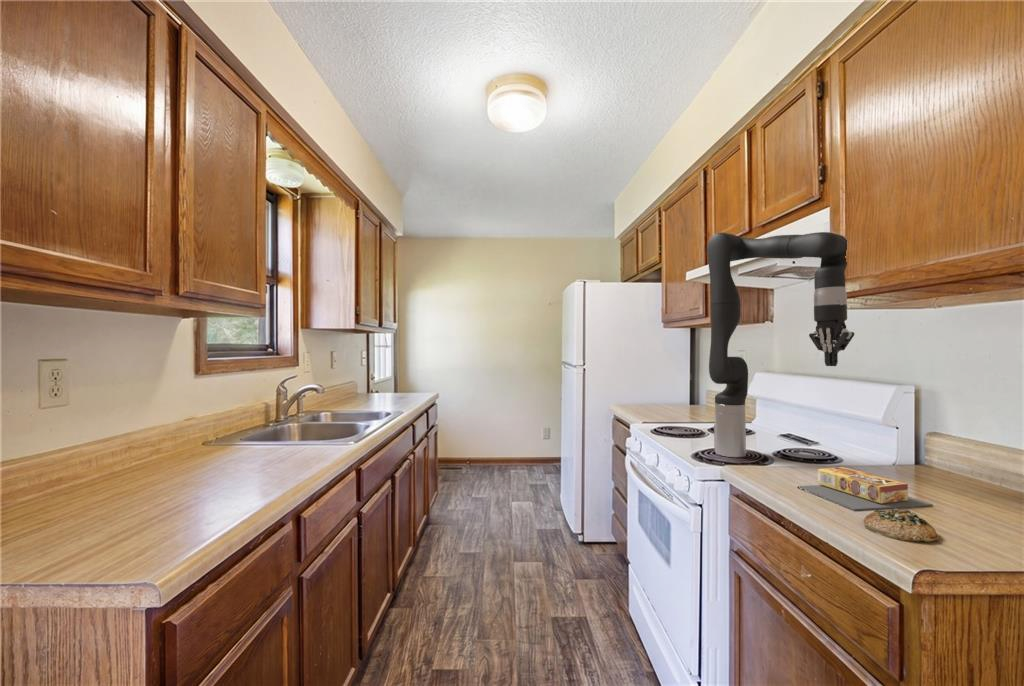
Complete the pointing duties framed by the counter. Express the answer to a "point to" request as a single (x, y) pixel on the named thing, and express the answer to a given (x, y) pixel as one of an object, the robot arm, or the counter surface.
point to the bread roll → (900, 525)
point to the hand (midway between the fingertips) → (831, 366)
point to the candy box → (863, 485)
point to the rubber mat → (860, 499)
